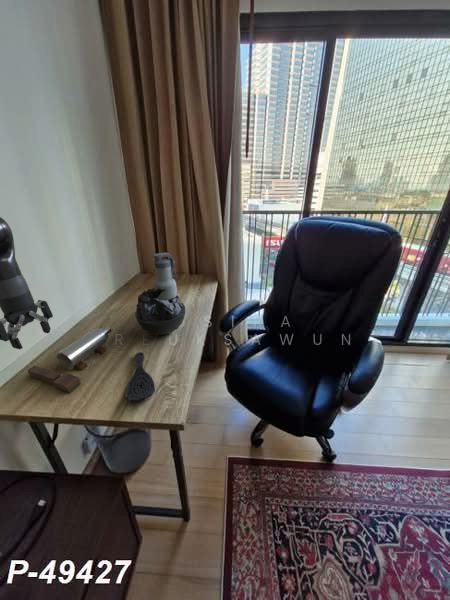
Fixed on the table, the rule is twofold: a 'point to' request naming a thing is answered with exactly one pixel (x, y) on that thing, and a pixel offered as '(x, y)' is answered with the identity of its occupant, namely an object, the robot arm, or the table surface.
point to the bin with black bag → (159, 312)
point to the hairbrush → (140, 382)
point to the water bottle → (165, 275)
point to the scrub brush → (55, 378)
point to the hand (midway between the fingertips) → (33, 340)
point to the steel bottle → (84, 349)
